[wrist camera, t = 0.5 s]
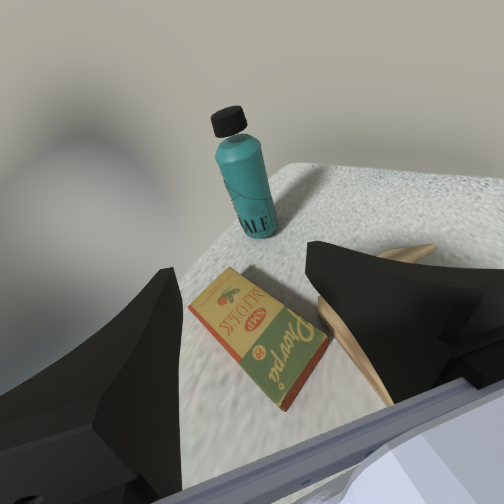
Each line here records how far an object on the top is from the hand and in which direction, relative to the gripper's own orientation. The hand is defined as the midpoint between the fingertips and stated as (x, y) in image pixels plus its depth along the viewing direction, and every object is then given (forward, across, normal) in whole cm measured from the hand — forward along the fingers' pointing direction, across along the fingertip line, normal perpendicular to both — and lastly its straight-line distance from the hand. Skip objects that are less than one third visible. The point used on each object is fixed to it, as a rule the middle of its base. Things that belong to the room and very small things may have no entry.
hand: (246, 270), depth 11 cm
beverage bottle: (+25, -9, +9) cm, 28 cm away
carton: (+9, -3, +16) cm, 19 cm away
